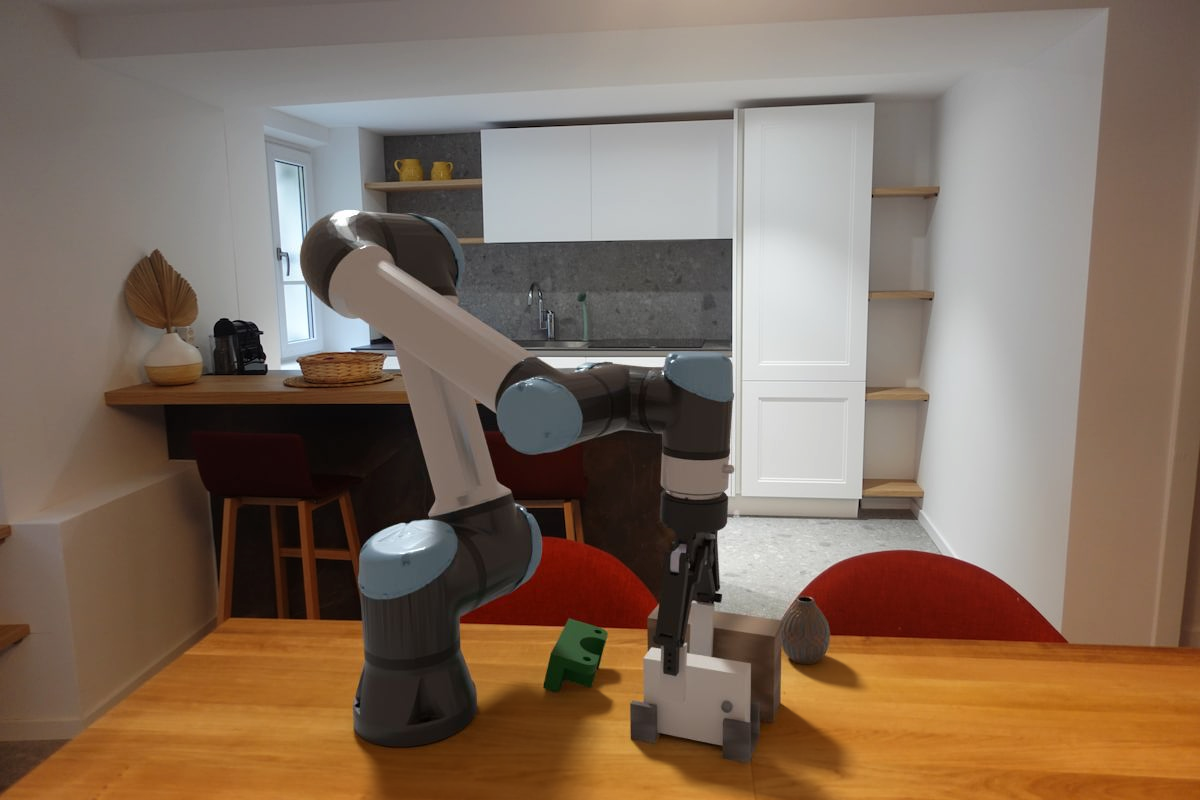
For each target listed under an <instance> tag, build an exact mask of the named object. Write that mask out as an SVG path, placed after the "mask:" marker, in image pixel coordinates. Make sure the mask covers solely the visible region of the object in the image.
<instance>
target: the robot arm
mask: <svg viewBox="0 0 1200 800" xmlns="http://www.w3.org/2000/svg"><path fill="white" fill-rule="evenodd" d="M463 251H464V250H463V248H462V245H461V243H460V242H459V240H458V238H457V236H456V235H455V233H454V232H453V230H451V228H450V227H448V226H447V225H446V224H445V223H443V222H442V221H440V220H438V219H436V218H432V217H428V216H423V215H420V214H417V213H411V212H409V213H390V212H378V211H377V212H375V211H366V210H365V211H364V210H356V209H355V210H354V209H343V210H339V211H335V212H332V213H328V214H326V215H325V216H323V217H321V218H319V219H318V220H317V221H316V222H315V223H314V224H312V225H311V227H310V228H309V229H308V231H307V233H306V234H305V236H304V238H303V240H302V243H301V246H300V252H299V266H300V270H301V274H302V278H303V279H304V281H305V283H306V285H307V286H308V288H309V290H310V291H311V293H313V295H314V296H316V297H317V298H318V300H320V302H322V303H323V304H324V305H326V306H327V307H328V308H330V309H331V310H333V312H336V314H338V315H340V317H344V318H346V319H352V320H353V319H360V320H362V321H363V322H364V323H366V324H367V325H369V326H370V327H372V328H373V329H374V330H376V331H377V332H379V333H380V334H382V335H383V336H384V337H385V338H388V339H389V340H391V342H392V344H393V348H394V351H395V355H396V359H397V362H398V366H399V368H400V369H399V370H400V373H401V377H402V380H403V384H404V388H405V392H406V395H407V398H408V402H409V405H410V410H411V412H412V417H413V420H414V424H415V427H416V431H417V435H418V439H419V442H420V446H421V450H422V453H423V457H424V460H425V464H426V468H427V471H428V475H429V478H430V482H431V485H432V490H433V493H434V497H435V501H434V502H433V505H432V506H431V508H430V510H429V511H428V513H427V515H428V519H419V520H418V519H417V520H412V521H410V522H409V523H405V522H400V523H398V524H393V525H391V526H388V527H386V528H383V529H381V530H380V531H379V532H376V533H374V534H373V535H372V536H371V537H370V538H369V539H367V540H366V541H365V543H364V544H363V545H362V548H361V549H360V551H359V557H358V562H359V563H358V564H359V565H358V567H359V568H358V569H359V572H358V574H357V583H358V584H357V586H358V588H359V595H360V608H361V622H362V623H361V624H362V639H363V640H362V641H363V651H364V652H363V655H364V657H363V658H364V661H363V665H362V670H361V674H360V678H359V679H358V680H359V681H358V684H357V688H356V693H355V697H354V699H353V704H352V714H353V715H352V718H353V728H354V730H355V731H356V733H357V734H358V735H359V736H360V737H361V738H362V739H364V740H366V741H368V742H371V743H373V744H376V745H380V746H387V747H393V748H394V747H396V748H397V747H401V748H403V747H404V748H405V747H415V746H416V747H417V746H423V745H427V744H432V743H436V742H438V741H441V740H444V739H446V738H449V737H451V736H453V735H454V734H457V733H458V732H460V731H461V730H463V729H464V728H465V727H467V726H468V725H469V724H470V723H471V722H472V721H473V719H474V718H475V717H476V714H477V711H478V693H477V687H476V684H475V682H474V680H473V679H472V676H471V672H470V670H469V666H468V665H467V662H466V659H465V657H464V654H463V651H462V647H461V626H460V625H461V624H460V618H461V617H463V616H465V615H467V614H469V613H471V612H472V611H474V610H476V609H478V608H480V607H482V606H484V605H486V604H488V603H491V602H492V601H494V600H496V599H498V598H500V597H502V596H507V595H509V594H511V593H512V592H514V591H515V590H517V589H518V588H519V587H520V586H522V585H523V584H525V583H526V582H528V581H529V580H530V579H531V578H532V577H533V575H534V574H535V572H536V571H537V568H538V566H539V565H540V562H541V560H542V555H543V554H542V553H543V538H542V534H541V529H540V527H539V524H538V521H537V520H536V518H535V517H534V515H533V514H532V513H529V512H527V511H528V509H526V507H525V506H523V505H521V504H519V503H516V502H515V500H514V497H513V496H514V495H513V493H512V490H511V489H510V488H508V487H506V486H505V485H503V484H501V483H500V482H499V481H498V480H497V479H498V478H497V477H496V473H495V468H494V466H493V462H492V458H491V455H490V451H489V447H488V444H487V439H486V437H485V432H484V429H483V426H482V422H481V419H480V418H481V417H480V415H479V414H480V413H479V411H478V407H477V403H476V401H477V402H479V403H480V404H482V405H484V406H485V407H486V408H488V409H489V410H491V411H492V412H493V413H495V414H496V421H497V427H498V429H499V432H500V433H502V435H503V437H504V438H505V442H506V443H507V444H508V445H509V447H511V448H512V449H513V450H516V451H517V452H520V453H521V454H525V455H539V454H544V453H545V454H547V453H554V452H558V451H561V450H564V449H566V448H568V447H571V446H573V445H576V444H580V443H582V442H586V441H589V440H592V439H597V438H599V437H603V436H606V435H609V434H613V433H615V432H618V431H619V432H620V431H633V432H642V433H649V434H656V435H659V434H660V435H661V439H662V440H661V441H662V442H661V443H662V444H661V445H662V446H661V447H662V448H661V449H662V450H661V467H660V468H661V469H660V470H661V471H660V486H661V487H662V489H663V490H662V492H661V493H660V507H659V508H660V509H659V521H660V522H661V524H662V526H665V527H666V528H668V529H671V530H672V531H673V532H674V534H675V536H674V541H672V543H671V545H670V550H667V549H666V550H665V551H664V553H663V572H662V582H661V587H660V594H659V595H660V597H659V603H658V604H659V610H658V617H657V625H656V632H655V636H654V635H653V642H654V643H655V645H660V646H661V665H660V695H659V698H664V699H668V700H673V701H677V702H682V703H683V702H684V701H685V691H686V665H687V643H685V635H686V630H687V624H688V619H689V613H690V608H691V625H690V651H689V653H691V654H696V655H702V656H708V657H711V656H712V654H713V631H714V611H715V609H716V608H715V605H716V604H715V603H717V604H721V603H722V599H723V593H718V592H719V591H720V589H721V584H720V582H721V581H720V564H719V550H718V549H719V548H718V547H719V545H718V531H720V530H723V529H724V528H725V527H726V526H727V523H728V513H729V511H728V510H729V496H728V495H727V493H726V491H727V490H728V489H729V477H730V475H732V474H734V472H735V466H734V465H732V464H729V462H730V455H731V437H732V436H731V434H732V433H731V432H732V418H733V405H734V404H733V403H734V400H735V399H734V398H735V392H734V381H733V380H734V378H733V377H734V375H733V374H734V370H733V369H734V368H733V367H734V366H733V363H732V360H731V358H730V357H729V356H727V355H726V354H724V353H721V352H720V353H719V352H713V351H694V350H691V351H689V350H687V351H685V350H684V351H683V350H681V351H680V350H679V351H672V352H669V353H668V354H666V357H665V359H664V365H663V366H662V367H651V366H642V365H641V366H640V365H631V364H622V363H621V364H620V363H613V362H611V361H603V362H589V361H588V362H584V363H581V364H579V365H578V366H577V367H576V369H575V370H574V371H572V372H568V373H567V372H566V373H565V372H562V371H560V370H558V369H557V368H555V367H553V366H551V364H548V363H547V362H545V361H544V360H542V359H541V358H539V357H538V356H537V355H535V354H533V353H532V352H529V350H527V349H526V348H523V347H522V346H521V345H519V344H518V343H516V342H515V341H512V340H511V339H509V338H508V337H507V336H505V335H504V334H502V333H501V332H499V331H497V330H496V329H494V328H493V327H491V326H489V325H488V324H486V323H485V322H483V321H482V320H480V319H479V318H477V317H476V316H474V315H473V314H471V313H469V312H468V311H467V310H464V309H463V308H462V307H461V306H459V305H458V303H459V298H458V294H457V290H458V289H459V288H460V286H461V284H462V282H463V279H464V278H463V277H462V274H464V273H465V269H466V268H465V267H466V263H465V255H464V252H463ZM475 400H476V401H475ZM693 597H694V599H695V600H693ZM712 602H713V603H712Z"/></svg>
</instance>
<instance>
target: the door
mask: <svg viewBox="0 0 1200 800" xmlns="http://www.w3.org/2000/svg"><path fill="white" fill-rule="evenodd" d="M642 660H643V661H642V663H643V667H642V668H643V669H642V670H643V677H642V678H643V702H644V703H649V704H655V705H657V732H658V733H661V734H664V735H668V736H673V737H677V738H684V739H688V740H693V741H698V742H702V743H708V744H712V745H717V746H721V747H723V720H724V718H728V719H734V720H739V721H744V722H749V723H750V697H751V663H745V662H739V661H733V660H727V659H720V658H714V657H708V656H702V655H696V654H690V653H687V665H686V691H685V701H684V702H683V703H682V702H677V701H673V700H668V699H664V698H659V695H660V665H661V649H659V648H653V647H651V649H650V650H649V651H648V650H647V653H646V654H645V655H644V657H643V658H642Z"/></svg>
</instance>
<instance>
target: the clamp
mask: <svg viewBox="0 0 1200 800" xmlns="http://www.w3.org/2000/svg"><path fill="white" fill-rule="evenodd" d="M608 636H609V633H608V631H607V630H606V629H604V628H603V627H599V626H596V625H592V624H589V623H587V622H582V621H578V620H576V619H573V618H568V619H567V621H566V624H565V625H564V627H563V629H562V631H561V633H560V635H559V637H558V639H557V641H556V642H555V644H554V646H553V648H552V651H551V652H550V657H549V660H548V664H547V668H546V672H545V677H544V680H543V685H542V686H543V687H542V688H543V689H545V690H548V691H551V692H555V693H556V694H559V693H560V691H561V688H562V686H563V683H564V682H565V681H566V682H570V683H573V684H576V685H579V686H582V687H585V688H589V689H591V688H592V687H593V684H594V680H595V676H596V672H597V671H598V670H599V669H600V664H601V661H602V656H603V653H604V650H605V646H606V642H607V640H608V639H607V638H608Z"/></svg>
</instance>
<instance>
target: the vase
mask: <svg viewBox="0 0 1200 800" xmlns="http://www.w3.org/2000/svg"><path fill="white" fill-rule="evenodd" d="M781 620H782V641H781V649H782V650H783V652H784V653H785V655H786V656H787V657H788V658H789V659H790V660H791V661H793V662H794V663H796V664H799V665H800V664H802V665H811V664H815V663H817V662H819V661H820V660H821V659H823V657H825V655H826V653H827V651H828V649H829V646H830V641H831V631H830V626H829V622H828V620H827V618H826V616H825V615H824V613H823V612H822V610H820V608H819V606H818V605H817V604H816V601H815V599H814V598H813V597H811V596H807V595H800V596H797V597H796V599H795V601H794V602H793V603H792V605H791V606H790V607H789V608H788V609H787V610H786V612H785V613H784V615H783V617H782V618H781Z"/></svg>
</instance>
